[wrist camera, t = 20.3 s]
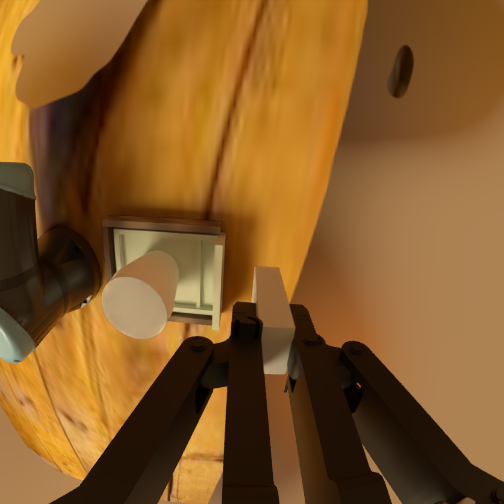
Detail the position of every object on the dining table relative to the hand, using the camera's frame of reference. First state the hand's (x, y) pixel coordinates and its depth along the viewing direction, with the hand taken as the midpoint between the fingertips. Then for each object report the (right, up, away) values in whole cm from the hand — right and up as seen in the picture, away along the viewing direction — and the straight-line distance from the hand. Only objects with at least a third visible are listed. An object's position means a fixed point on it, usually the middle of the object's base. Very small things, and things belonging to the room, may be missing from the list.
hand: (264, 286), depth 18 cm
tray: (-14, 0, +25) cm, 29 cm away
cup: (-15, -1, +25) cm, 29 cm away
